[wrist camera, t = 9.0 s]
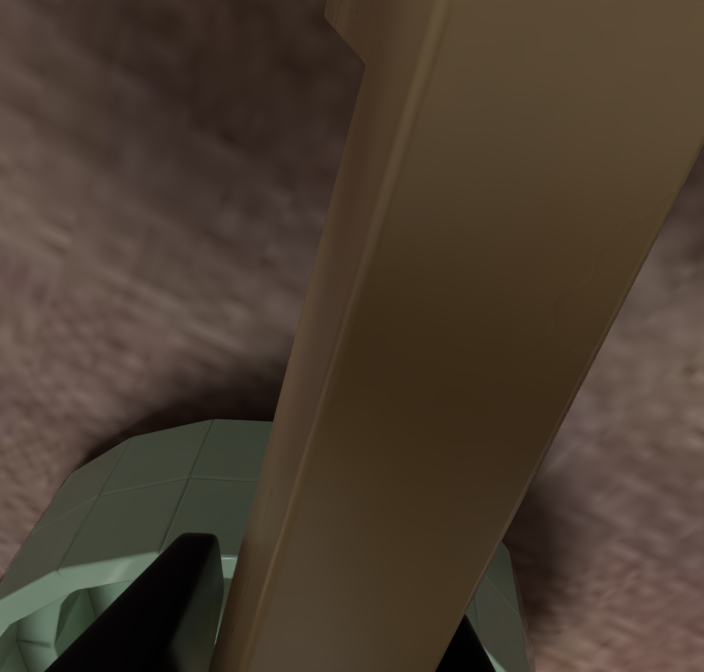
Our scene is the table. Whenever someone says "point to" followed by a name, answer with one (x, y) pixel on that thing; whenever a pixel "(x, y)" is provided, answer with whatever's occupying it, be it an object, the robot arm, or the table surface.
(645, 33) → the ladle
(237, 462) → the green round dish
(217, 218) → the table surface
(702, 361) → the table surface
